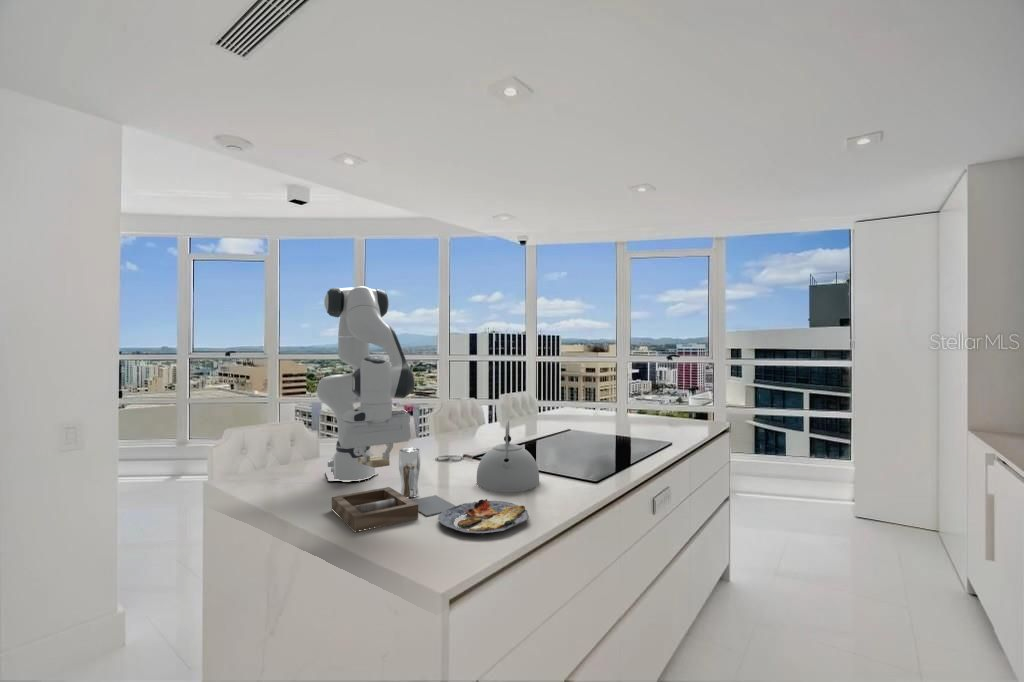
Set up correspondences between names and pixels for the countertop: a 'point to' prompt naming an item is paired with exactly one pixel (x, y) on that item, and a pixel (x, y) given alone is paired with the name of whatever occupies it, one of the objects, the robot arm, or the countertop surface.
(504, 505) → the food plate
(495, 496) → the countertop surface
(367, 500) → the pocket board
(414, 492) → the drinking glass
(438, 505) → the rubber mat
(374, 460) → the maple bar
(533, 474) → the kettle
